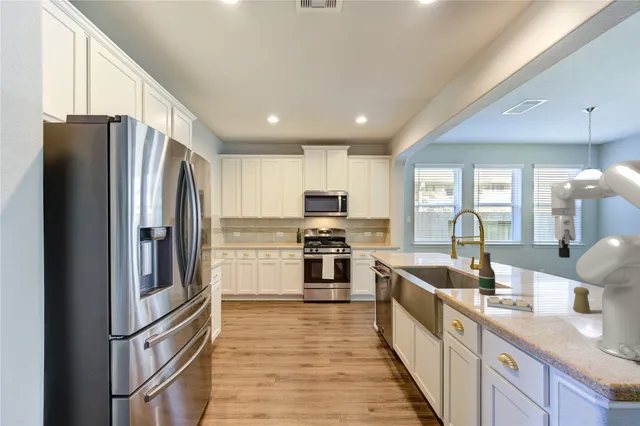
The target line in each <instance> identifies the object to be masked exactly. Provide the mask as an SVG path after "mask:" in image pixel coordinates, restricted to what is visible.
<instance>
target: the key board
mask: <svg viewBox="0 0 640 426" xmlns="http://www.w3.org/2000/svg"><path fill="white" fill-rule="evenodd" d="M486 306H487V308H493V309H502V310H510V311H518V312H525V313H526V312H527V313H532V312H533V311H532V309H531V307H530V305H529V303H528V302H527V307H518V306H516V300H513V306H510V305H503V304H502V299H500V298H499V304H493V303H489V297H486Z"/></svg>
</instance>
